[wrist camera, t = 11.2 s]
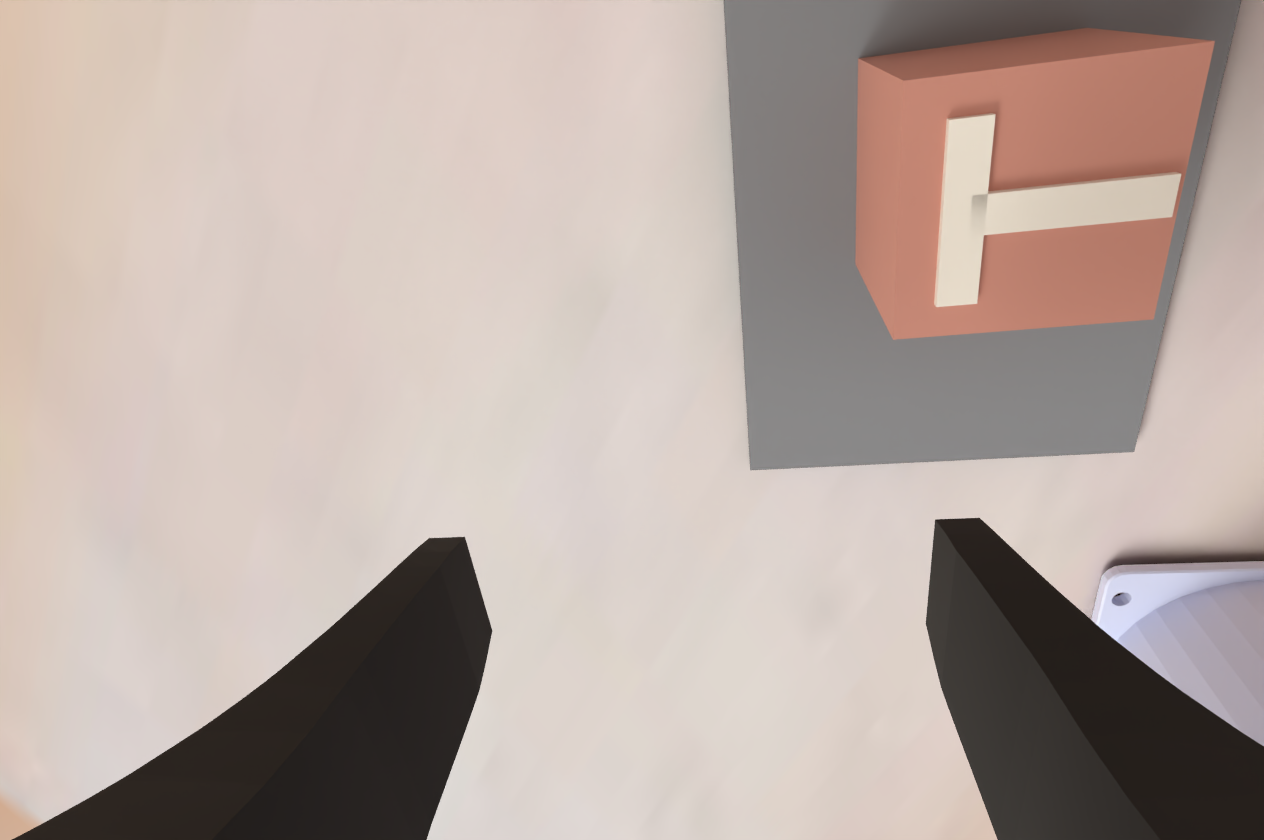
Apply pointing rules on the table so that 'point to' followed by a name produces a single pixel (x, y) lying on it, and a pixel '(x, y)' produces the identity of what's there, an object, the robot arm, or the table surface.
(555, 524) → the table surface
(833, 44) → the charcoal mat
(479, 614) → the robot arm
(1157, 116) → the lettered cube
